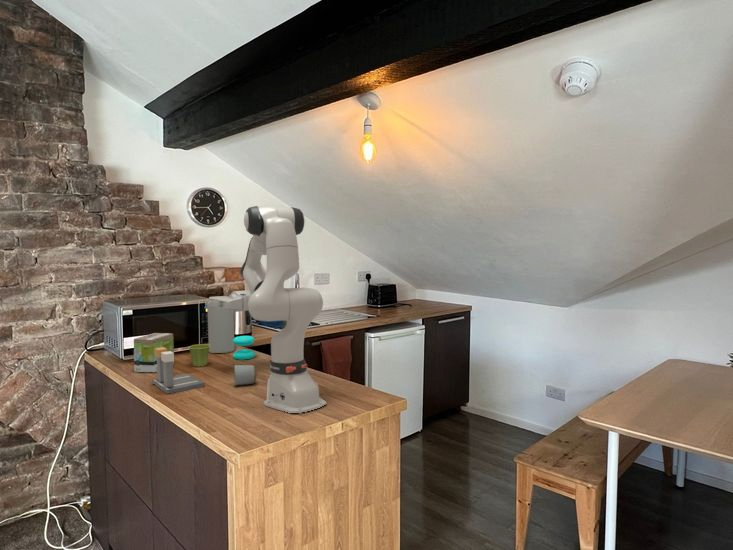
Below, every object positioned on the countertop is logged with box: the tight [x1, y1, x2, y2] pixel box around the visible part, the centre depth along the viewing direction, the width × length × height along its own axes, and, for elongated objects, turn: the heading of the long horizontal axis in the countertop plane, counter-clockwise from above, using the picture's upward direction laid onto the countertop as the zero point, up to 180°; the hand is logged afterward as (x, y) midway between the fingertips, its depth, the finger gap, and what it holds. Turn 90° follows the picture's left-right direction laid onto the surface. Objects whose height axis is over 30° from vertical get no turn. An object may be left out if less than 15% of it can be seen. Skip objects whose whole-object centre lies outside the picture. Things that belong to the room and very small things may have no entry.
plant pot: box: [187, 343, 210, 368], centre depth 215 cm, size 9×9×9 cm
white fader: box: [161, 351, 175, 387], centre depth 178 cm, size 4×3×12 cm
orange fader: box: [155, 347, 167, 382], centre depth 185 cm, size 4×3×12 cm
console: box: [151, 372, 206, 395], centre depth 186 cm, size 18×14×2 cm
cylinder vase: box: [206, 306, 236, 354], centre depth 242 cm, size 12×12×25 cm
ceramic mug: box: [233, 364, 257, 386], centre depth 187 cm, size 11×8×8 cm
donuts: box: [233, 335, 256, 361], centre depth 228 cm, size 10×10×10 cm
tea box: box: [133, 332, 175, 373], centre depth 210 cm, size 15×10×15 cm, turn 171°
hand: (206, 304), depth 196 cm, fingers closed
